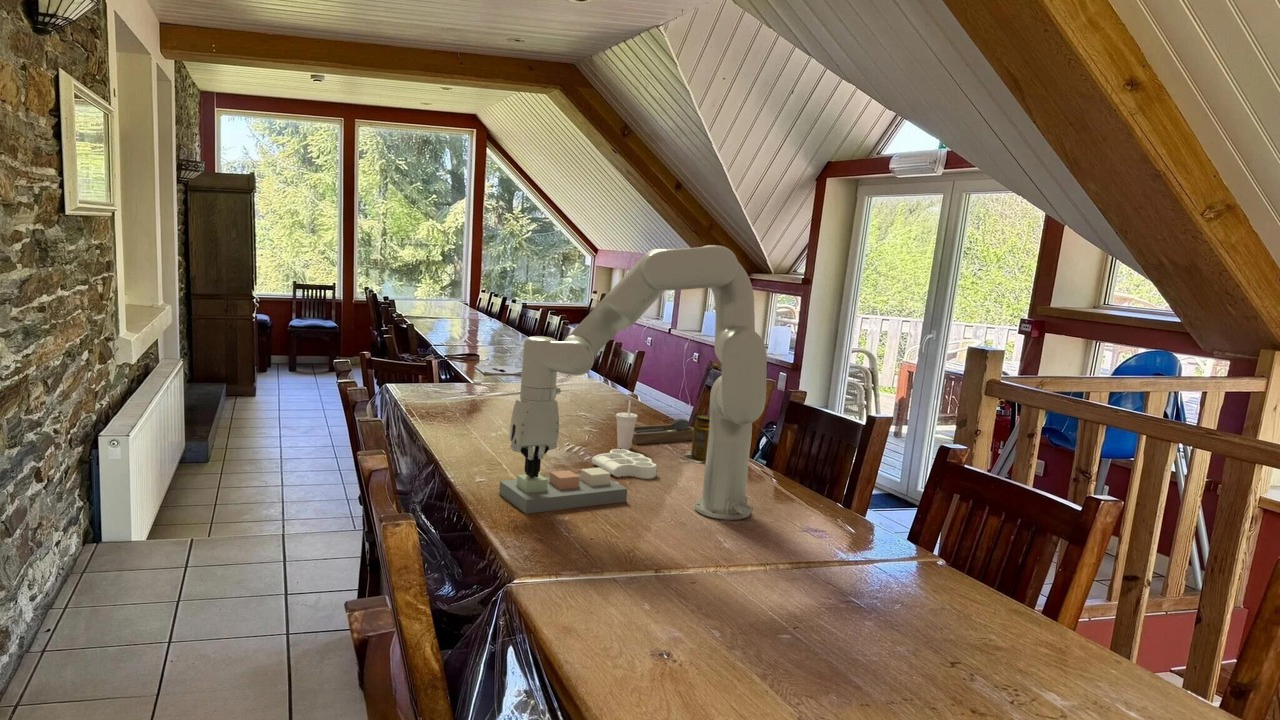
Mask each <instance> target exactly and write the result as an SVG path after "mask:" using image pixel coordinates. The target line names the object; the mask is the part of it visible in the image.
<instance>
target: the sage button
mask: <svg viewBox="0 0 1280 720" xmlns="http://www.w3.org/2000/svg"><path fill="white" fill-rule="evenodd" d="M545 477H546V476H543V475H542V474H541V473H539V474H538V477H533V478H531V477H529V476H528V475H526V473H525V474H517V477H516V479H517V488H519V489H520V490H522V491H523V492H524V493H533V492H542V491H547V484H548V479H546V478H545Z"/></svg>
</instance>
